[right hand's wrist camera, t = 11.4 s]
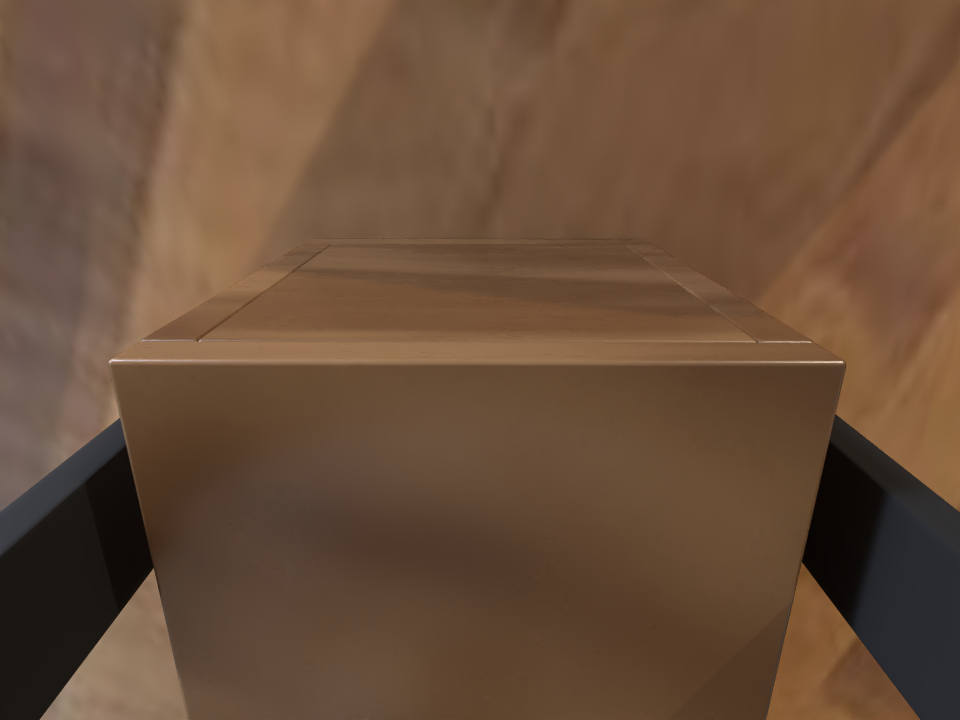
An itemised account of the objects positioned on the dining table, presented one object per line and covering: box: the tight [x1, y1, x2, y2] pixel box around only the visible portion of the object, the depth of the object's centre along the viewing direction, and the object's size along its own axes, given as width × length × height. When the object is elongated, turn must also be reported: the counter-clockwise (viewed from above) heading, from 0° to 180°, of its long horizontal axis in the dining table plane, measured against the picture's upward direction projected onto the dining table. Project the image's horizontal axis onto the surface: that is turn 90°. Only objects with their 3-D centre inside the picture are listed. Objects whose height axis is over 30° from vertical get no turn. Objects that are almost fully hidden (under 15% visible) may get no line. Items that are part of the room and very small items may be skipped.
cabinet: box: [108, 239, 846, 720], centre depth 17 cm, size 22×10×11 cm, turn 0°
